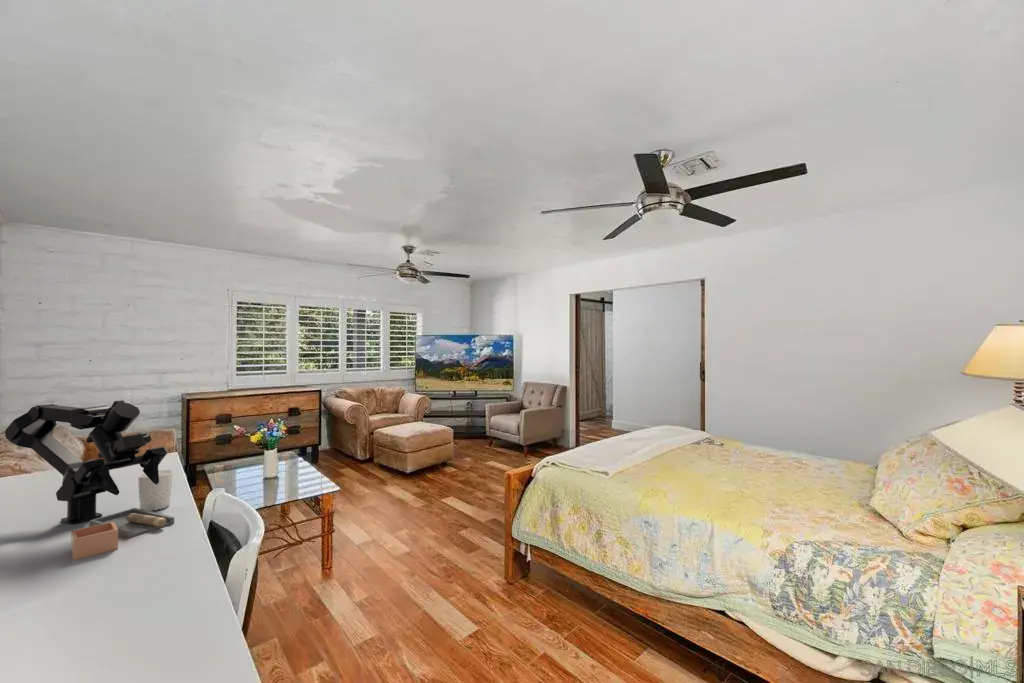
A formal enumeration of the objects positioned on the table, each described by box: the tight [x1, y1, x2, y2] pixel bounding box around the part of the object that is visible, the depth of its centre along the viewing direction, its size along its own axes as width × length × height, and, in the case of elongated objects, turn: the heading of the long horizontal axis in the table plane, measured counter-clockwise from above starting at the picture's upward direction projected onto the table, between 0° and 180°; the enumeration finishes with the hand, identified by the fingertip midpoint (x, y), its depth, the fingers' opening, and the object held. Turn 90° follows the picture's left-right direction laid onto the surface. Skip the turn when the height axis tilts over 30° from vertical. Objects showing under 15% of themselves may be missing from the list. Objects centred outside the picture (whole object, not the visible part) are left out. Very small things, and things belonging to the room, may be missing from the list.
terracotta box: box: [70, 521, 119, 561], centre depth 100 cm, size 7×7×5 cm
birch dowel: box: [126, 513, 166, 527], centre depth 113 cm, size 6×2×12 cm
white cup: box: [137, 469, 173, 512], centre depth 129 cm, size 8×8×10 cm
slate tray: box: [88, 507, 175, 539], centre depth 114 cm, size 18×10×2 cm, turn 67°
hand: (138, 488), depth 114 cm, fingers open, 9 cm apart
